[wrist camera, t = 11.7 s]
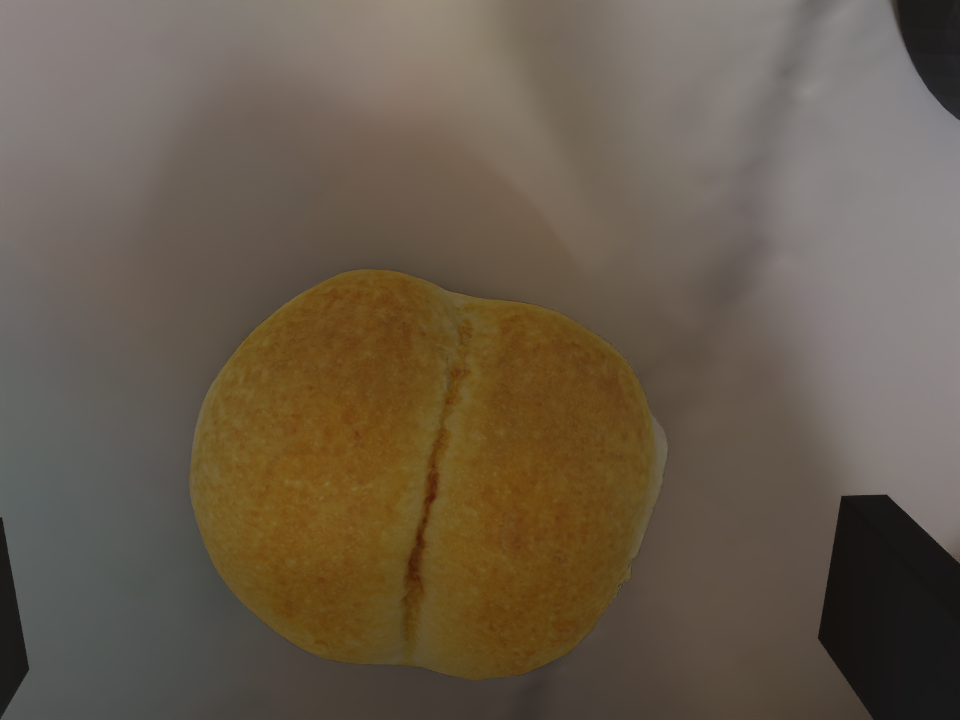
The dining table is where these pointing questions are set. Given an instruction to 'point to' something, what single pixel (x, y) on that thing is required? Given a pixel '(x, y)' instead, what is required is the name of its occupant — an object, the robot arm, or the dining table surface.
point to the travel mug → (935, 46)
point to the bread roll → (425, 476)
